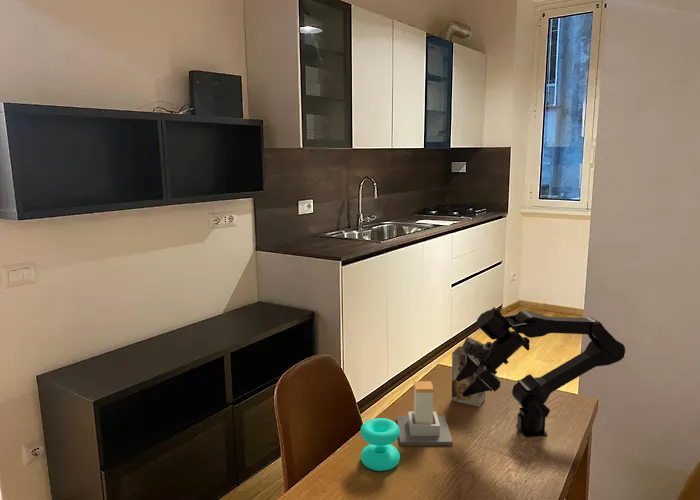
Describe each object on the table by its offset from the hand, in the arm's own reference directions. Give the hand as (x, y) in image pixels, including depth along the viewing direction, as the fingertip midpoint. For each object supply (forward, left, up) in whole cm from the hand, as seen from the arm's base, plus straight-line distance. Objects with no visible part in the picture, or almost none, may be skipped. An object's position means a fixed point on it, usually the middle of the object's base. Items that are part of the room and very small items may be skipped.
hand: (459, 387), depth 149 cm
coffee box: (-8, -19, -14) cm, 25 cm away
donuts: (+24, +11, -14) cm, 30 cm away
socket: (+10, -2, -14) cm, 17 cm away
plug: (+10, -2, -13) cm, 16 cm away
